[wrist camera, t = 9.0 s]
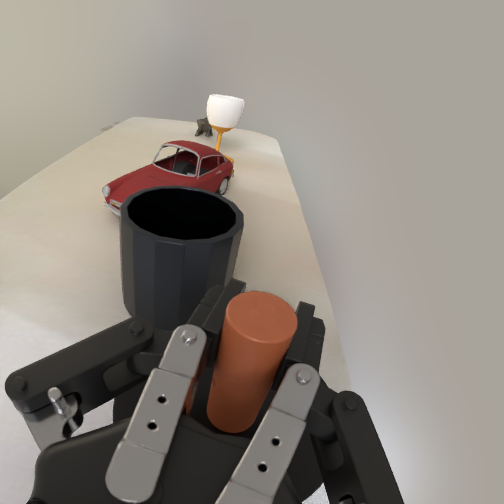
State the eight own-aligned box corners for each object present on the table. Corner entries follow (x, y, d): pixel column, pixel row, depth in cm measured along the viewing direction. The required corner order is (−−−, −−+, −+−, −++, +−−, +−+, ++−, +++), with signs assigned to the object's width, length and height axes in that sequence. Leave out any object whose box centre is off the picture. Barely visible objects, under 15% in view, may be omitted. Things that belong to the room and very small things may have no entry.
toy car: (98, 216, 44) (98, 153, 39) (187, 174, 65) (194, 128, 59) (152, 242, 41) (156, 172, 36) (233, 190, 62) (243, 142, 57)
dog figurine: (197, 130, 101) (201, 109, 97) (214, 133, 101) (218, 112, 97) (190, 137, 91) (193, 114, 87) (208, 140, 91) (212, 117, 87)
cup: (193, 160, 73) (203, 95, 64) (202, 151, 80) (213, 93, 72) (229, 168, 73) (243, 102, 64) (236, 158, 81) (248, 99, 72)
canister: (223, 342, 30) (244, 254, 24) (110, 323, 28) (101, 231, 23) (227, 272, 40) (243, 195, 34) (137, 258, 38) (140, 179, 32)
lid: (348, 515, 11) (460, 455, 7) (97, 504, 10) (26, 442, 5) (316, 347, 22) (364, 246, 17) (139, 325, 20) (136, 210, 15)
